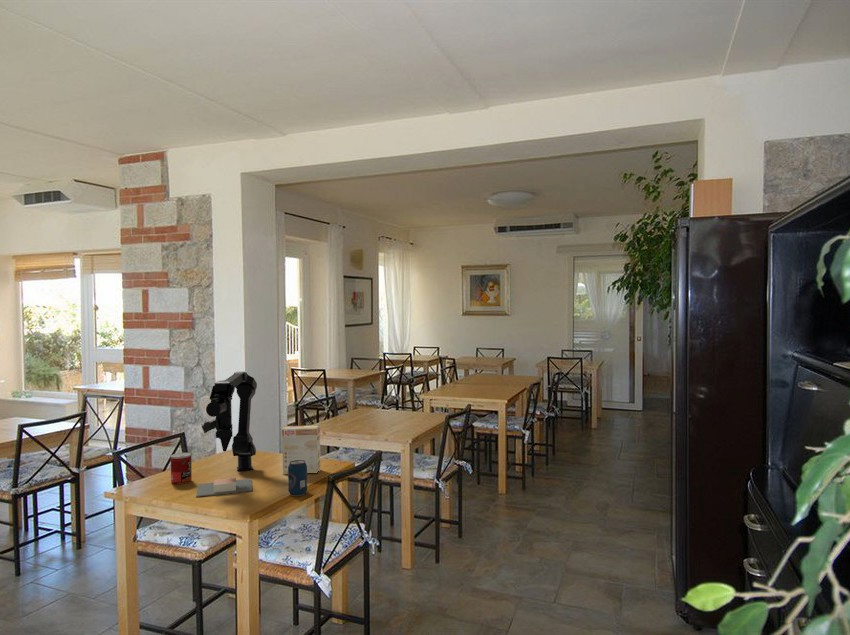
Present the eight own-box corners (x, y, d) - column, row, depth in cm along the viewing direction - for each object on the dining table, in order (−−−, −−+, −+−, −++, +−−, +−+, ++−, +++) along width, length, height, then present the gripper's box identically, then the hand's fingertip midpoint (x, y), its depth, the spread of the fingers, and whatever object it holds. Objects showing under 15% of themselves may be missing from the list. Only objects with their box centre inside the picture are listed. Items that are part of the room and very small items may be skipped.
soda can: (285, 493, 211) (284, 462, 211) (301, 489, 216) (300, 458, 216) (294, 498, 206) (294, 465, 206) (311, 493, 211) (310, 461, 211)
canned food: (184, 484, 225) (183, 457, 225) (166, 483, 227) (166, 456, 227) (195, 479, 233) (195, 452, 233) (178, 478, 234) (178, 452, 234)
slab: (214, 479, 219) (213, 484, 212) (235, 477, 221) (235, 482, 215) (214, 487, 219) (213, 492, 212) (235, 485, 221) (236, 490, 215)
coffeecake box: (321, 469, 244) (320, 425, 244) (317, 474, 237) (316, 428, 237) (286, 470, 245) (286, 425, 245) (282, 474, 237) (281, 428, 237)
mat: (198, 485, 224) (198, 484, 224) (251, 480, 230) (251, 478, 230) (196, 497, 208) (196, 495, 208) (252, 491, 215) (252, 489, 215)
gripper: (203, 410, 232) (204, 448, 232) (201, 417, 215) (202, 458, 214) (232, 408, 236) (232, 445, 236) (232, 415, 218) (232, 455, 218)
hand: (224, 451), depth 226 cm, fingers closed
